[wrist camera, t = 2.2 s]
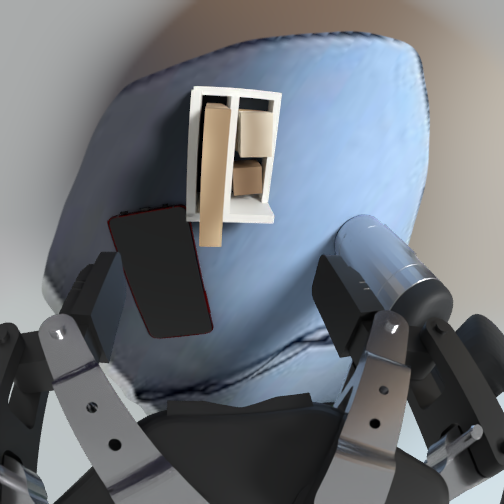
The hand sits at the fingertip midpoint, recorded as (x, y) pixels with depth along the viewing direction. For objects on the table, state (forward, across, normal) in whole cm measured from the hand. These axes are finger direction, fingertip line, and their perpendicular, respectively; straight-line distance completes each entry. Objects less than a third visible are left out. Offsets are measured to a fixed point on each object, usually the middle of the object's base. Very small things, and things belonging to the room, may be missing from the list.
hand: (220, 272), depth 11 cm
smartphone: (+28, +7, +21) cm, 36 cm away
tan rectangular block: (+27, 0, 0) cm, 27 cm away
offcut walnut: (+27, -4, +4) cm, 28 cm away
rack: (+27, -2, 0) cm, 27 cm away
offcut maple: (+24, -5, -2) cm, 25 cm away
